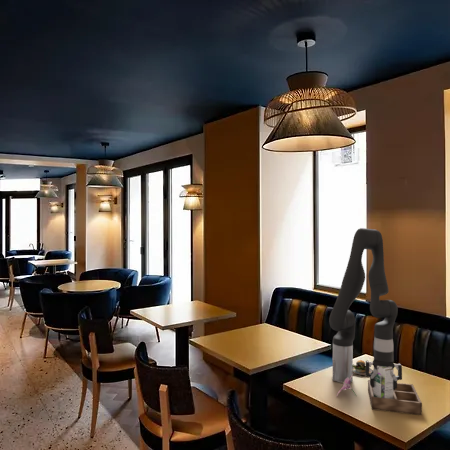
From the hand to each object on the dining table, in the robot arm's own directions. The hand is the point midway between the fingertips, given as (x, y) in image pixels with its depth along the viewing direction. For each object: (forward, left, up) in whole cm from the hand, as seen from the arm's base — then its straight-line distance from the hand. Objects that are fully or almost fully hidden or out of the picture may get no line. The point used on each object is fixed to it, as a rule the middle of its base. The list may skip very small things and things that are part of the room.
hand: (383, 387), depth 163 cm
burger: (-7, +35, -8) cm, 37 cm away
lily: (-14, +7, -8) cm, 17 cm away
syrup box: (0, 0, -5) cm, 5 cm away
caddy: (+4, +4, -7) cm, 9 cm away
